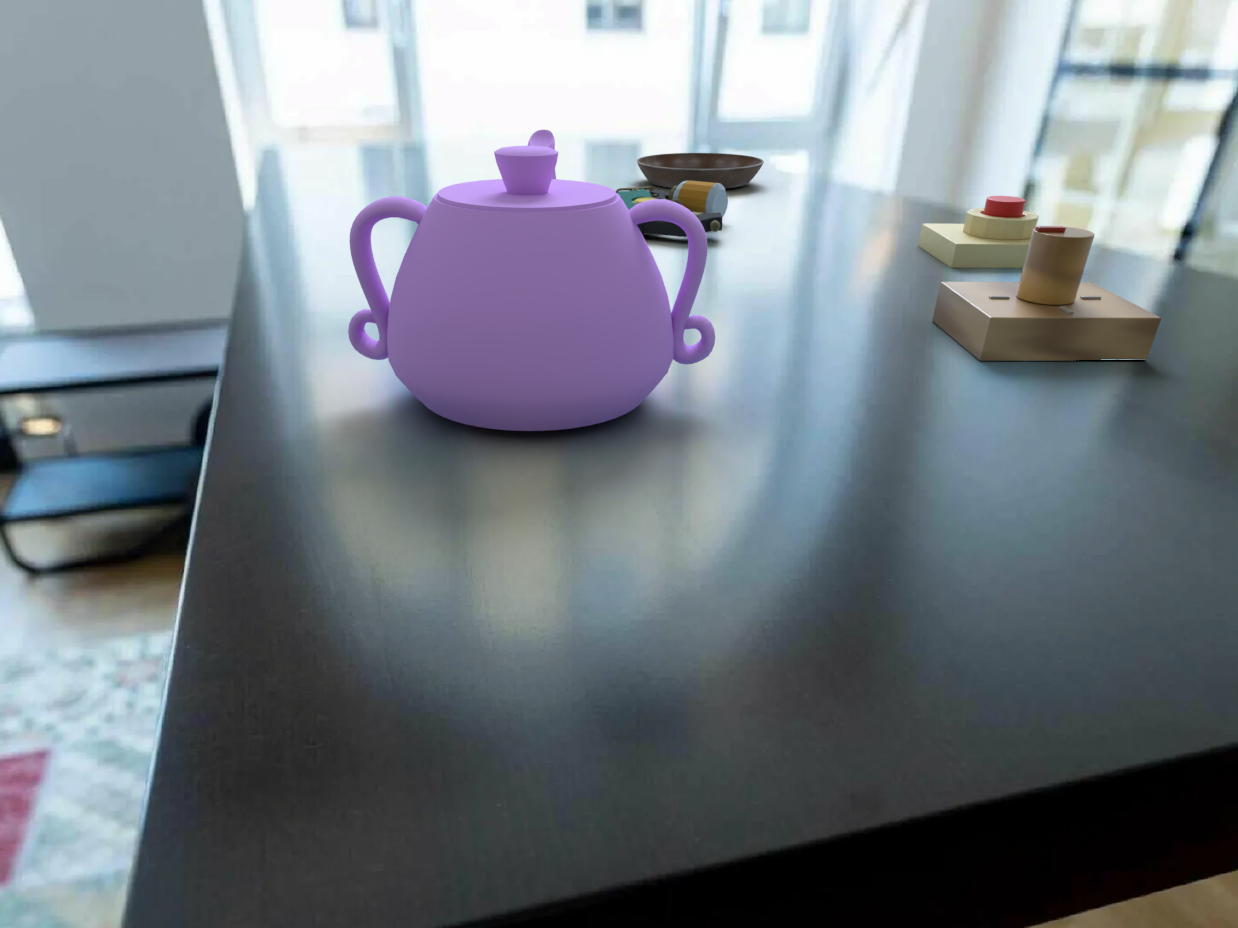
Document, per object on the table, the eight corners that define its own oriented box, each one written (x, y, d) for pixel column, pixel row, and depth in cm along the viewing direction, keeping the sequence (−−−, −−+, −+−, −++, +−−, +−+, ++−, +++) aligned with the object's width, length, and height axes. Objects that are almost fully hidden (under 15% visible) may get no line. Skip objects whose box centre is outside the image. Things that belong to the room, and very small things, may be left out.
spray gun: (714, 254, 94) (577, 249, 97) (742, 215, 106) (620, 212, 110) (716, 210, 91) (574, 206, 95) (744, 175, 103) (619, 173, 107)
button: (1012, 214, 91) (1017, 195, 90) (1027, 221, 88) (1032, 202, 87) (976, 214, 90) (981, 195, 89) (990, 221, 87) (995, 201, 86)
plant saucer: (611, 184, 126) (611, 159, 124) (677, 170, 138) (678, 147, 136) (722, 198, 118) (724, 172, 116) (782, 182, 130) (785, 158, 128)
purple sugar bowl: (691, 337, 67) (706, 124, 59) (725, 454, 49) (753, 172, 42) (395, 334, 67) (371, 120, 59) (323, 450, 49) (274, 167, 41)
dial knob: (1059, 290, 68) (1079, 221, 65) (1084, 305, 64) (1107, 232, 62) (1007, 290, 68) (1024, 221, 65) (1029, 305, 64) (1049, 232, 62)
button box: (1029, 246, 95) (1040, 204, 93) (1073, 268, 87) (1087, 223, 85) (917, 245, 95) (925, 204, 93) (950, 268, 87) (961, 223, 84)
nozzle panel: (1080, 321, 72) (1092, 279, 70) (1146, 361, 64) (1163, 315, 62) (931, 321, 72) (940, 279, 70) (979, 361, 63) (991, 315, 62)
